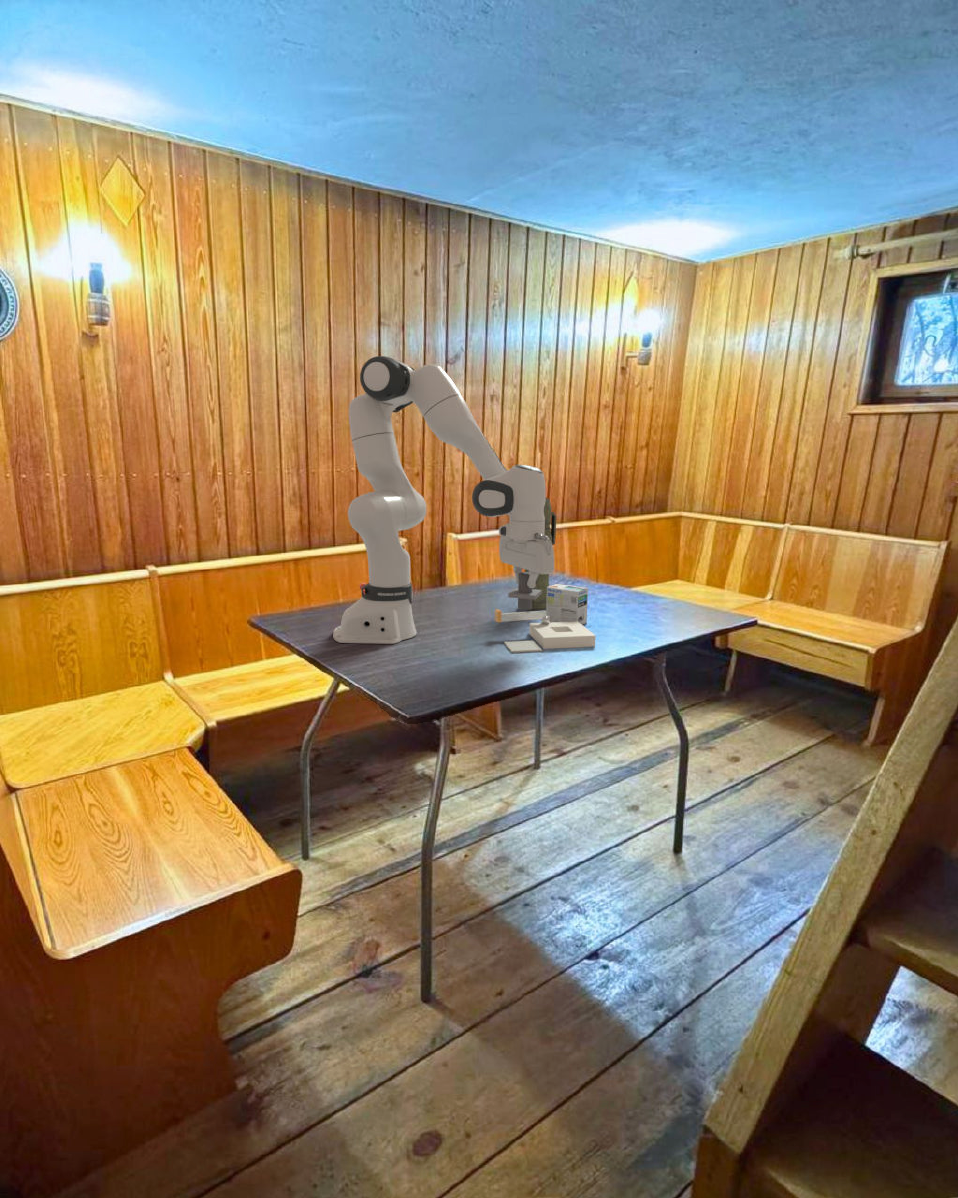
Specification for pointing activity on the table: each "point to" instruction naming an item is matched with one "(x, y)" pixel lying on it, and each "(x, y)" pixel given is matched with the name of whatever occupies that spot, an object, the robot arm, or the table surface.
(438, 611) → the table surface
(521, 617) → the ball-tipped lever rod
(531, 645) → the mat
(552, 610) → the light bulb box
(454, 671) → the table surface
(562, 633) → the socket
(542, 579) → the thermos
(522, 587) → the plug
